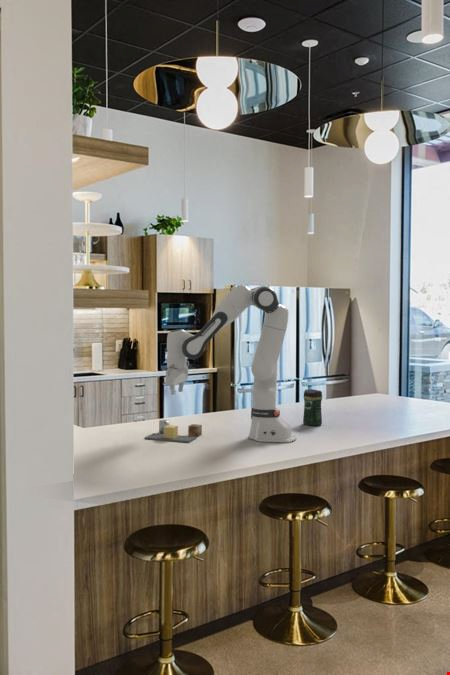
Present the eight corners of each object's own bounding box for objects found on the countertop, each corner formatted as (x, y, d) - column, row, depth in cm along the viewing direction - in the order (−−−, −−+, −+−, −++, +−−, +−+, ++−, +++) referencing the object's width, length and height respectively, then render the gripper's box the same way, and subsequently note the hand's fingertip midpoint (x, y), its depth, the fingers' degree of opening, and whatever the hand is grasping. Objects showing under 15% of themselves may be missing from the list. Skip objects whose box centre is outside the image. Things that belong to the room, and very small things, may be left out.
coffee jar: (324, 425, 340) (325, 390, 338) (314, 426, 334) (314, 391, 333) (310, 422, 347) (311, 387, 346) (300, 424, 342) (301, 389, 341)
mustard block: (177, 436, 303) (177, 425, 303) (173, 438, 299) (173, 427, 298) (167, 435, 305) (167, 425, 305) (163, 437, 300) (163, 427, 300)
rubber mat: (196, 438, 303) (196, 436, 303) (188, 442, 294) (188, 441, 294) (153, 434, 310) (153, 433, 310) (144, 439, 300) (144, 437, 300)
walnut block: (201, 435, 311) (201, 424, 311) (198, 437, 307) (198, 426, 306) (191, 434, 313) (192, 424, 313) (188, 436, 308) (188, 426, 308)
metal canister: (170, 432, 316) (171, 420, 316) (166, 434, 312) (167, 422, 311) (161, 431, 318) (161, 419, 317) (157, 433, 313) (157, 421, 313)
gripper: (174, 366, 292) (175, 396, 293) (190, 361, 312) (190, 390, 313) (161, 365, 294) (162, 396, 295) (178, 361, 314) (178, 390, 315)
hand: (176, 393), depth 304 cm, fingers open, 8 cm apart
